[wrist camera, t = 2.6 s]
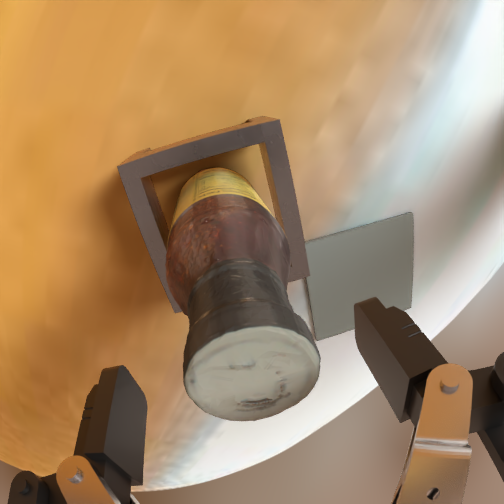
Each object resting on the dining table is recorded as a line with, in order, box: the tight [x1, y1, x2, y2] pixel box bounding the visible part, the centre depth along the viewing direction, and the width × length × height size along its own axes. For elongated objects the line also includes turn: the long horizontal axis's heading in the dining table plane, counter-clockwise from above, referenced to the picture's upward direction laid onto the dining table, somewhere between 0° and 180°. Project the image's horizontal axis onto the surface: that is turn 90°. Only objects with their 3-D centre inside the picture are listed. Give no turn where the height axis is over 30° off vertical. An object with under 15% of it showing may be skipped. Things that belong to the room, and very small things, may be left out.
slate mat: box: [305, 212, 414, 341], centre depth 32 cm, size 12×12×1 cm
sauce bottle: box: [165, 168, 321, 421], centre depth 18 cm, size 7×6×20 cm
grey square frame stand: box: [117, 116, 310, 313], centre depth 24 cm, size 10×11×6 cm
